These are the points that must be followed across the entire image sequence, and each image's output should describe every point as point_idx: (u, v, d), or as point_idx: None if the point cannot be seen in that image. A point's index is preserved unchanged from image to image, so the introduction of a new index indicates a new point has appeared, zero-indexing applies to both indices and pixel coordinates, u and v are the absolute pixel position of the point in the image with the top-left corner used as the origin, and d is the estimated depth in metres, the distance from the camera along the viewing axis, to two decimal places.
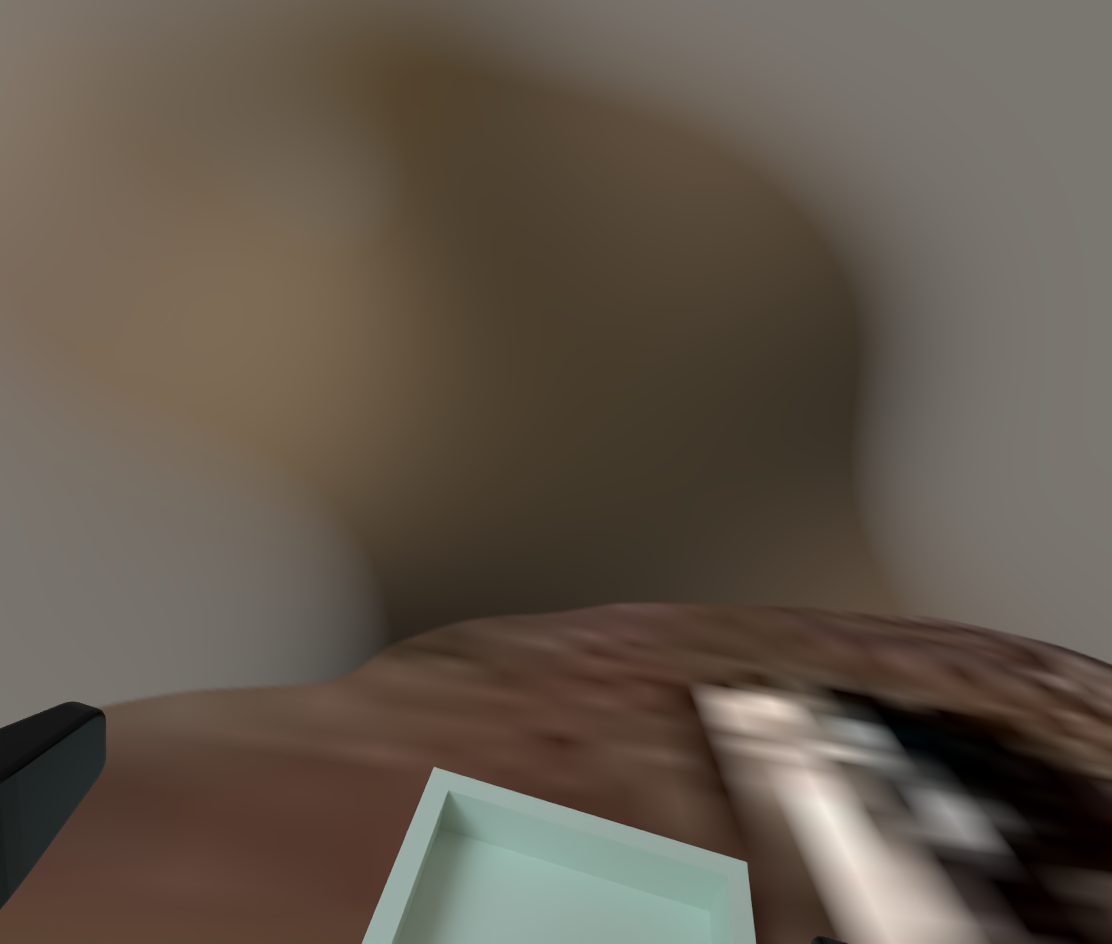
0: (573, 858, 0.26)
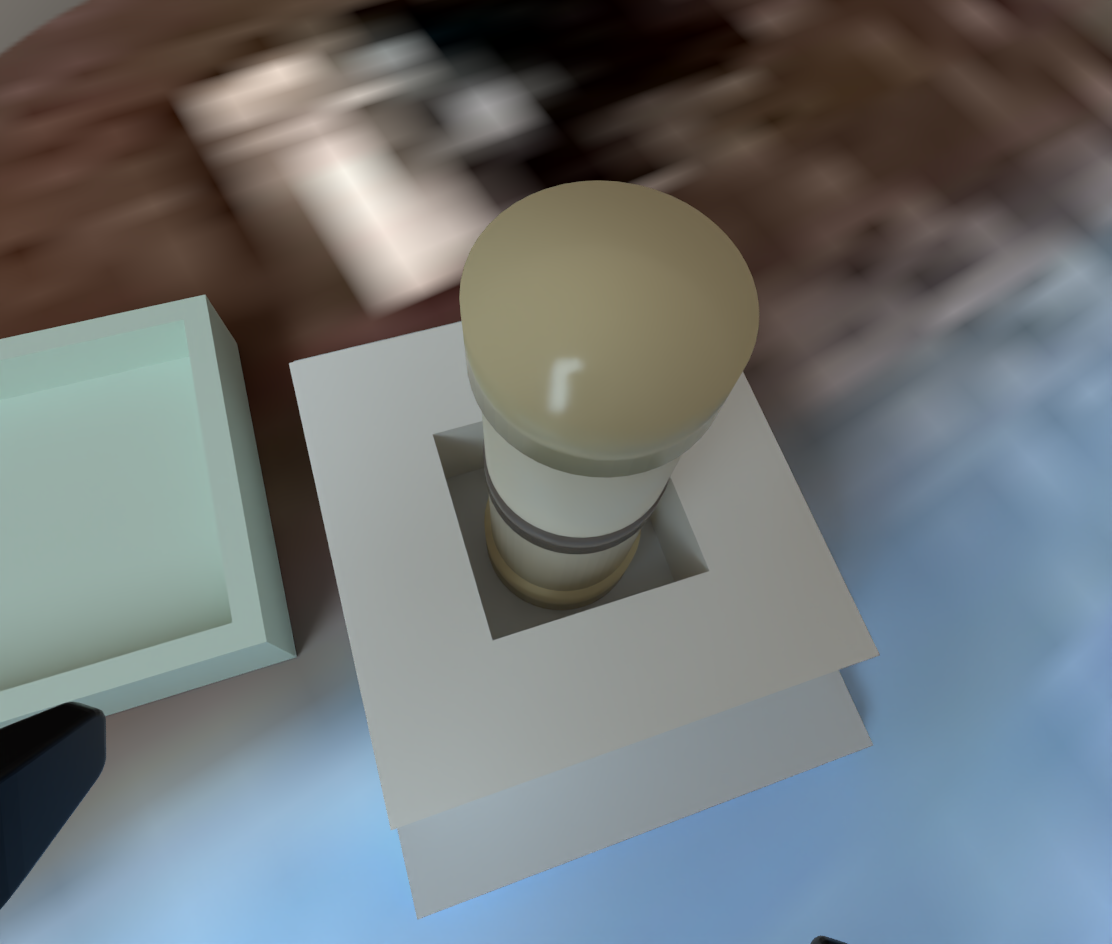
0: (38, 381, 0.24)
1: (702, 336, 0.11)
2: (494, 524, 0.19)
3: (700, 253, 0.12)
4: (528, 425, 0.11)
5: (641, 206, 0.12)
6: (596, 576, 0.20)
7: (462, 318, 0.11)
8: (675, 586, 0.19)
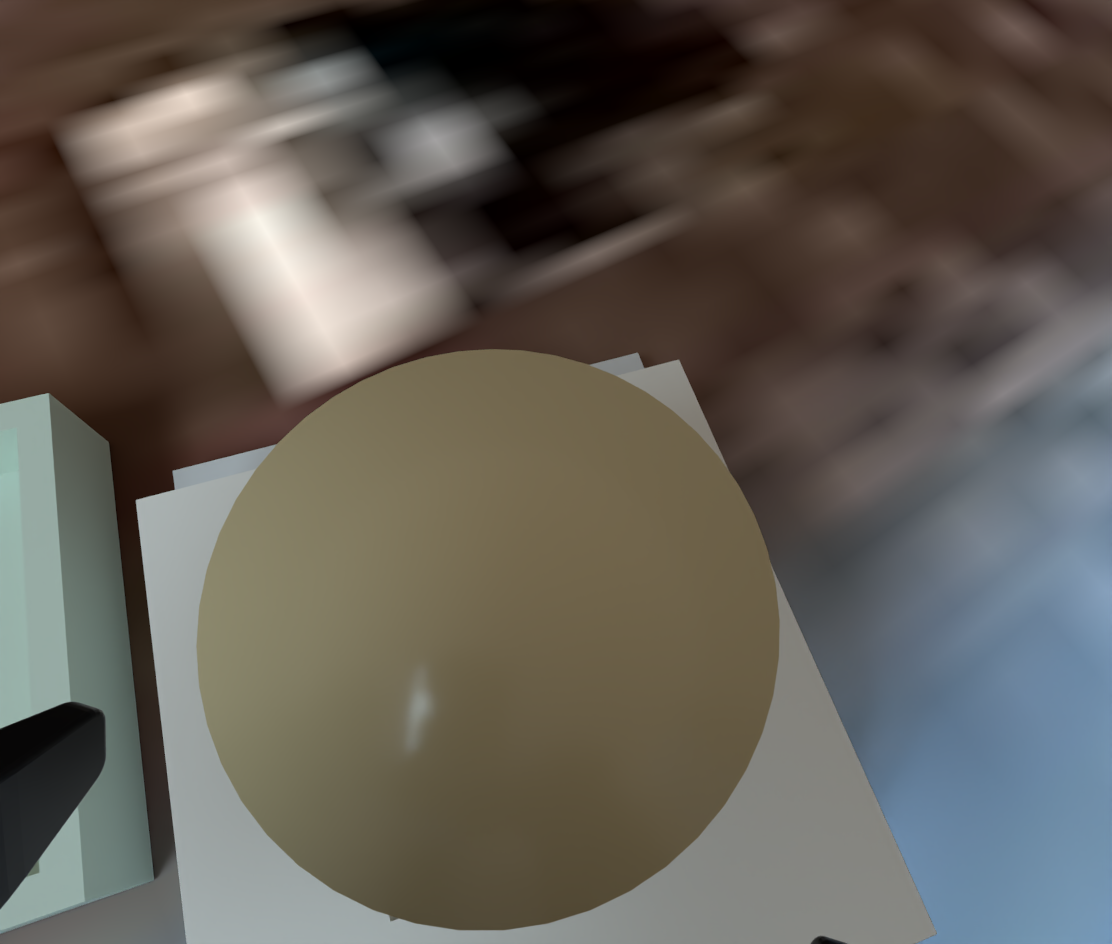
0: None
1: (670, 682, 0.06)
2: None
3: (669, 495, 0.06)
4: None
5: (564, 400, 0.07)
6: None
7: (198, 654, 0.06)
8: None
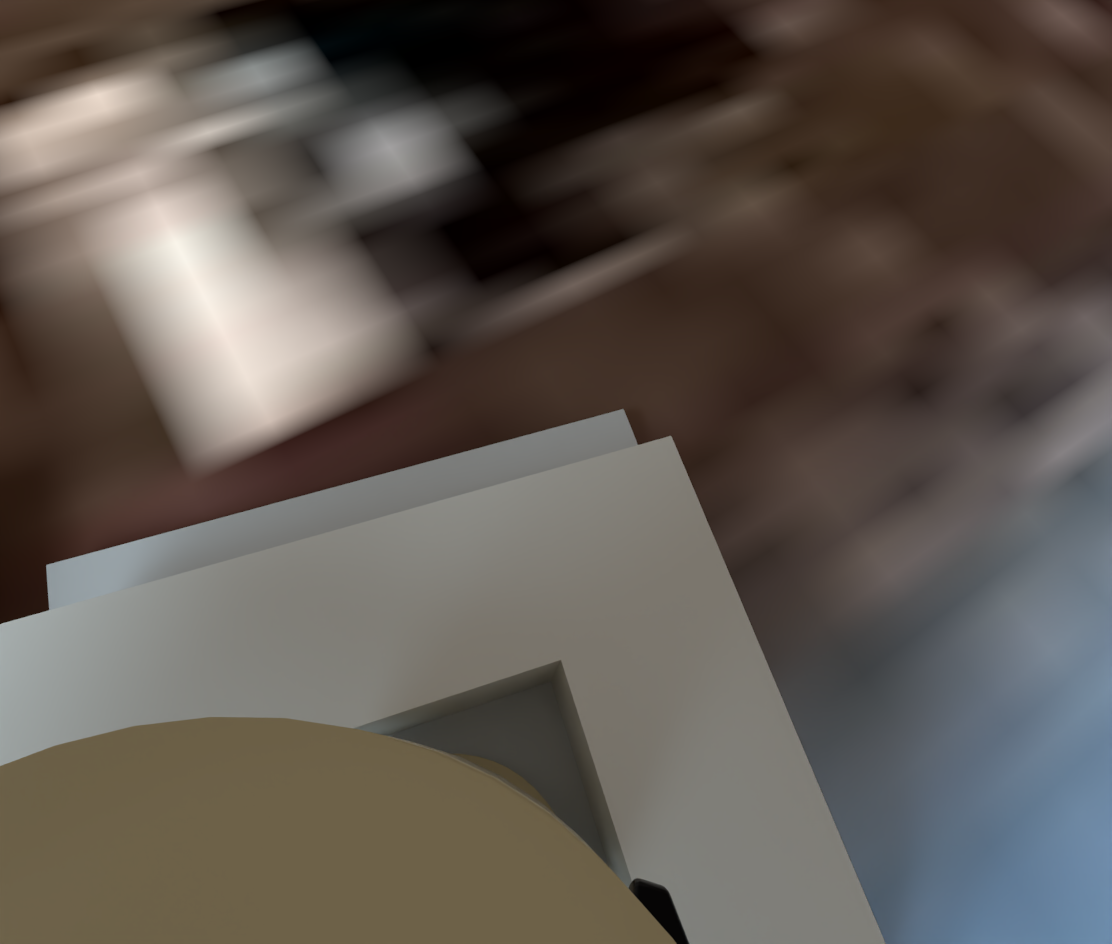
0: None
1: None
2: None
3: None
4: None
5: (366, 857, 0.03)
6: None
7: None
8: None
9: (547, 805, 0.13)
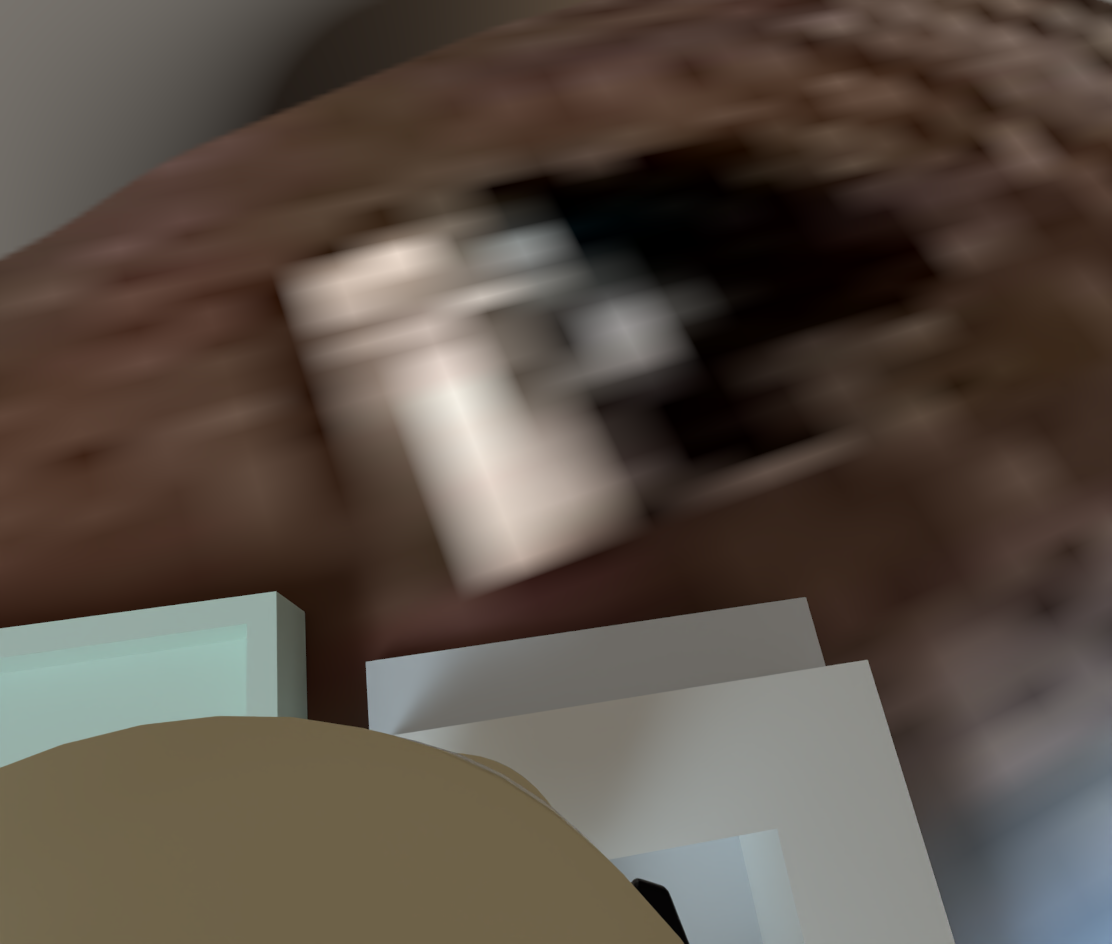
0: (74, 659, 0.20)
1: None
2: None
3: None
4: None
5: (373, 856, 0.03)
6: None
7: None
8: None
9: (549, 805, 0.13)
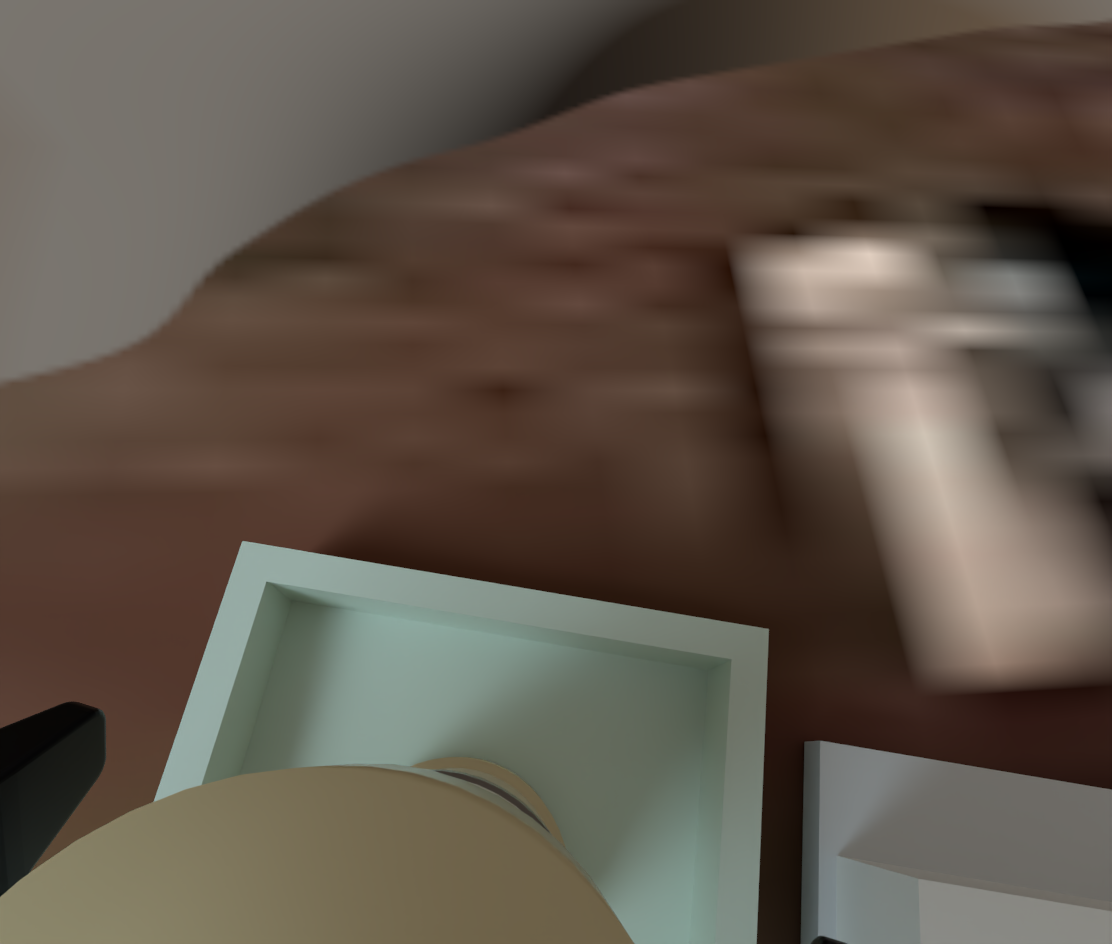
0: (495, 630, 0.17)
1: None
2: None
3: None
4: None
5: (407, 868, 0.04)
6: None
7: None
8: None
9: (543, 804, 0.14)
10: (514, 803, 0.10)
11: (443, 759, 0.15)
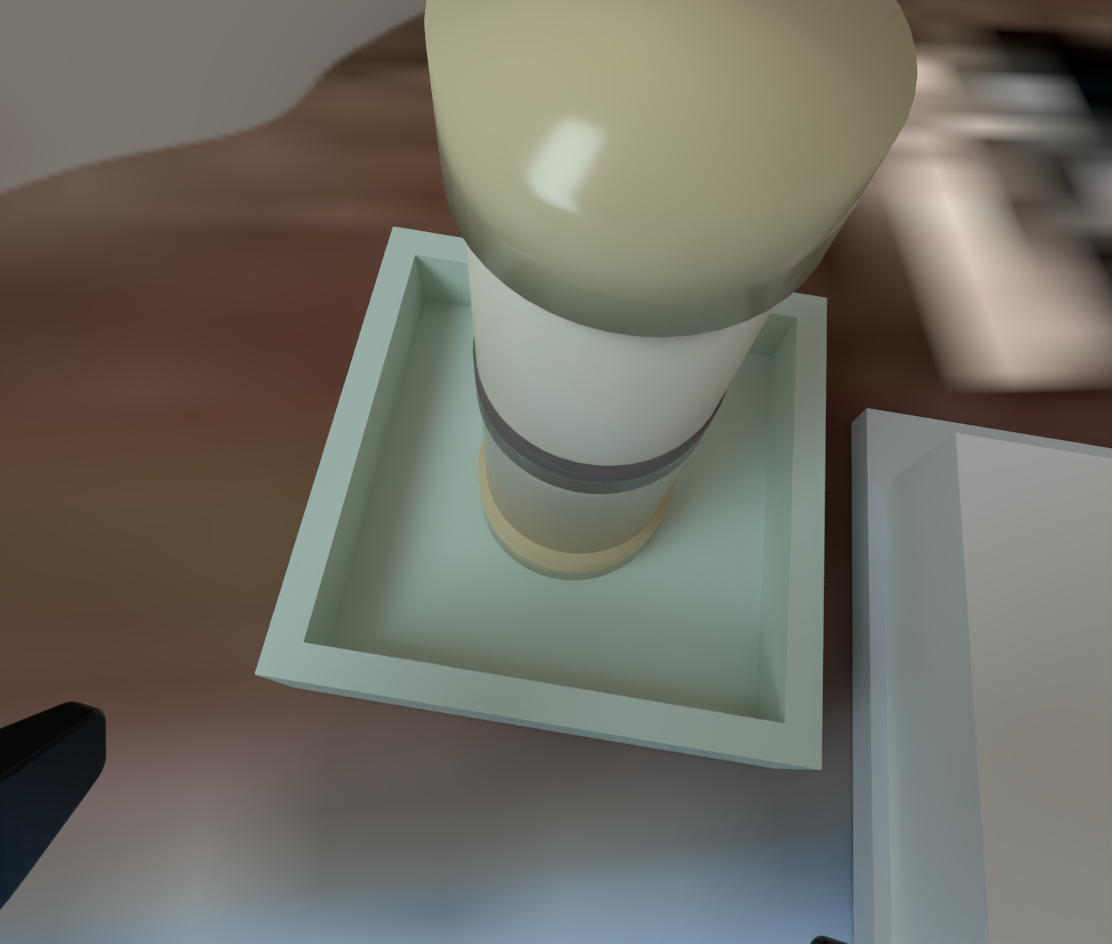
0: None
1: (826, 84, 0.07)
2: (489, 463, 0.15)
3: None
4: (538, 229, 0.07)
5: None
6: (620, 532, 0.16)
7: (428, 49, 0.07)
8: None
9: None
10: None
11: None
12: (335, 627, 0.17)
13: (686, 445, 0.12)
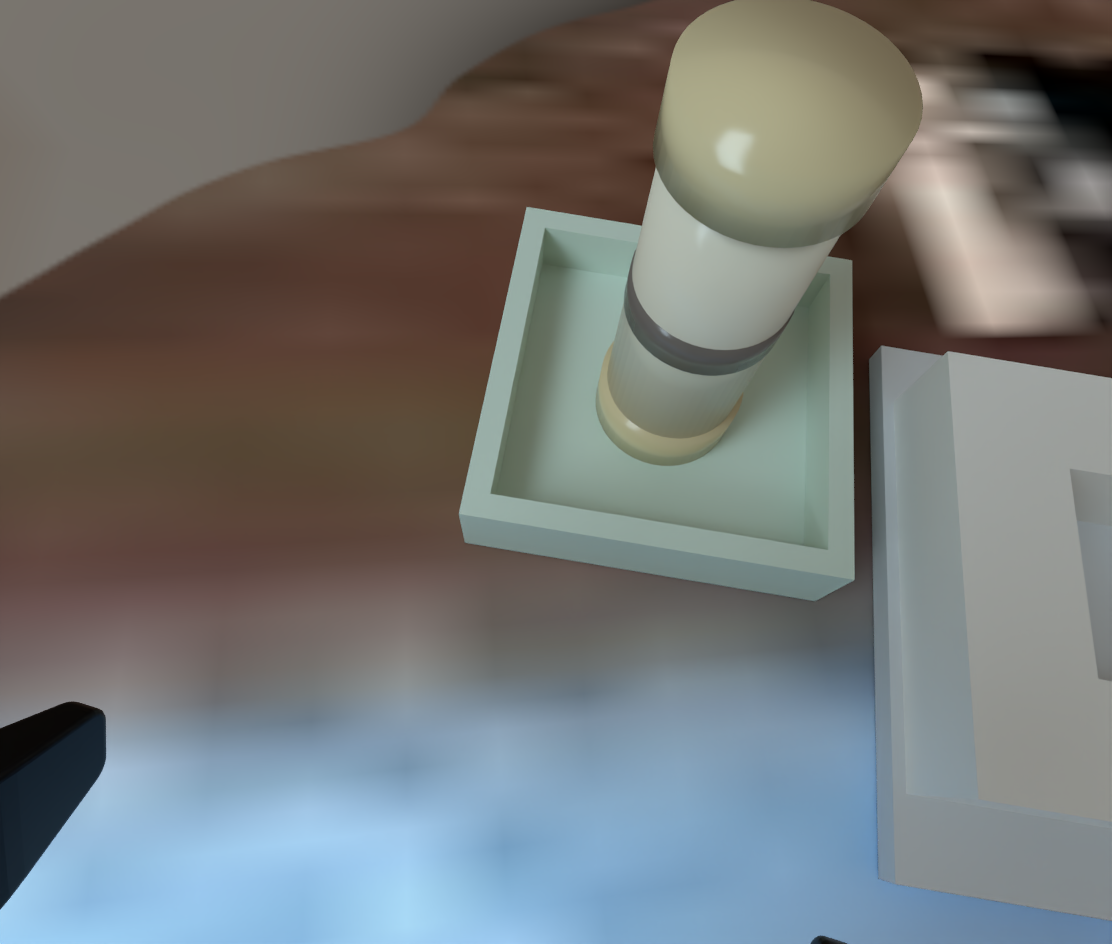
0: None
1: (876, 112, 0.13)
2: (622, 367, 0.21)
3: (867, 51, 0.14)
4: (731, 185, 0.13)
5: (813, 15, 0.14)
6: (711, 418, 0.22)
7: (676, 94, 0.13)
8: None
9: None
10: None
11: None
12: None
13: (772, 338, 0.18)
